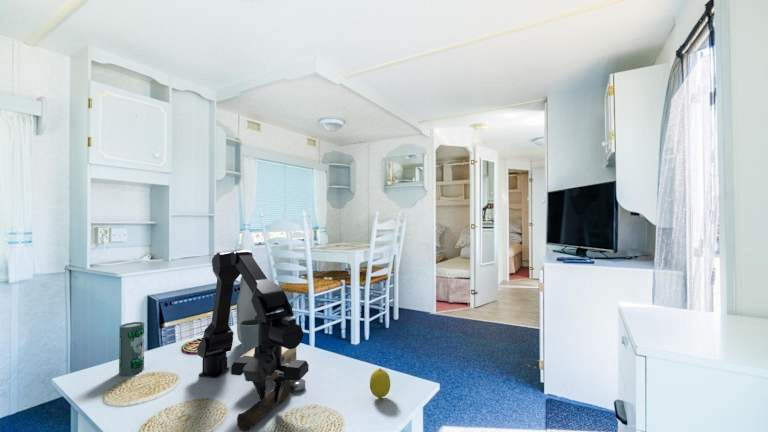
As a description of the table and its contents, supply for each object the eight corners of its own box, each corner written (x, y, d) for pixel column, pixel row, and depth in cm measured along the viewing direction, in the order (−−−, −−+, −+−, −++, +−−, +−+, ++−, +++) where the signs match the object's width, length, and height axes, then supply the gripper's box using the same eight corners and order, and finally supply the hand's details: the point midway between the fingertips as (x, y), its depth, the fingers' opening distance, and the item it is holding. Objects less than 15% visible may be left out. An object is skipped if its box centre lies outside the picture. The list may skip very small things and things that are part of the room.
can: (139, 374, 107) (140, 326, 107) (116, 377, 105) (117, 328, 105) (145, 366, 113) (146, 321, 113) (123, 369, 110) (124, 323, 111)
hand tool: (249, 433, 76) (250, 413, 76) (235, 430, 77) (236, 409, 78) (298, 394, 94) (298, 377, 94) (286, 391, 95) (286, 375, 95)
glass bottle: (254, 337, 141) (254, 270, 141) (269, 342, 135) (269, 272, 135) (231, 344, 133) (231, 273, 133) (246, 350, 127) (246, 275, 127)
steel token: (289, 394, 94) (289, 386, 94) (289, 386, 98) (289, 379, 98) (305, 392, 95) (305, 384, 95) (305, 385, 99) (305, 378, 99)
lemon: (383, 406, 87) (383, 374, 87) (365, 400, 90) (365, 370, 90) (394, 396, 92) (394, 367, 92) (377, 391, 95) (377, 362, 95)
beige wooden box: (239, 390, 96) (239, 356, 96) (264, 371, 108) (264, 341, 109) (275, 394, 94) (275, 359, 94) (296, 373, 106) (296, 343, 106)
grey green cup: (263, 360, 117) (263, 325, 117) (234, 360, 117) (234, 325, 118) (273, 349, 127) (273, 317, 128) (246, 349, 127) (246, 317, 128)
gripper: (216, 348, 80) (215, 415, 80) (289, 354, 76) (288, 424, 76) (244, 333, 91) (243, 392, 90) (309, 337, 87) (309, 399, 87)
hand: (269, 401), depth 86 cm, fingers open, 4 cm apart
